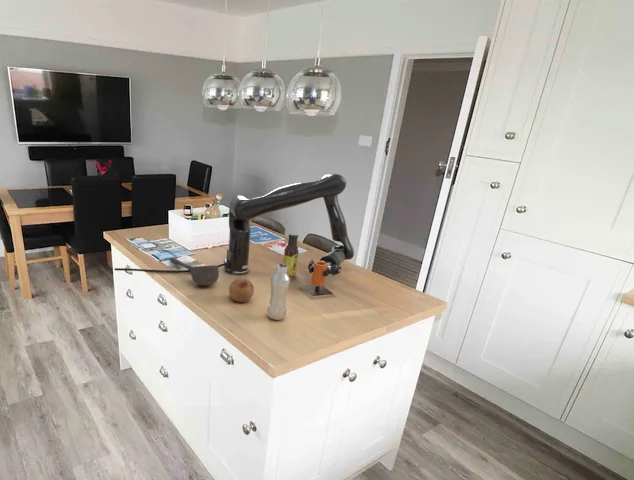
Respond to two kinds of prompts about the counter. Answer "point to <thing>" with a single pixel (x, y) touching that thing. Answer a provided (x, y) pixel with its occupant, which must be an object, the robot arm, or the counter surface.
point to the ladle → (201, 273)
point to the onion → (241, 290)
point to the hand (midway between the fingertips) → (317, 272)
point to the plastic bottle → (278, 293)
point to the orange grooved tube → (318, 273)
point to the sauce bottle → (291, 255)
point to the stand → (316, 290)
